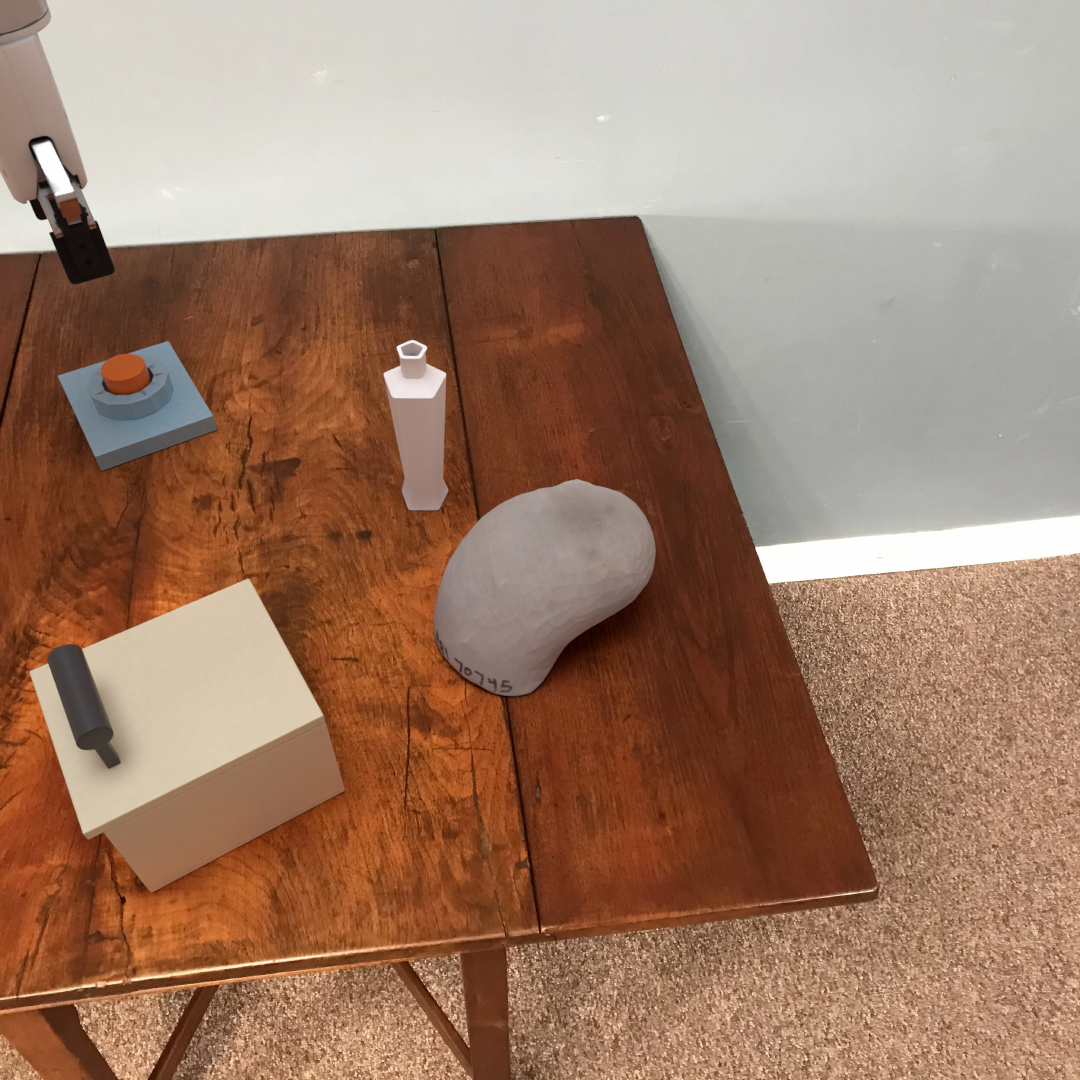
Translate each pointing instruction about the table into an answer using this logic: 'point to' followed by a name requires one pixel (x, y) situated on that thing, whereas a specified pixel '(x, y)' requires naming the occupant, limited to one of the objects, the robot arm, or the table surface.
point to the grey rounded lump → (539, 581)
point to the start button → (125, 374)
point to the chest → (229, 809)
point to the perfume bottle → (419, 425)
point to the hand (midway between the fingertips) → (75, 244)
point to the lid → (170, 704)
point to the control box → (138, 409)
